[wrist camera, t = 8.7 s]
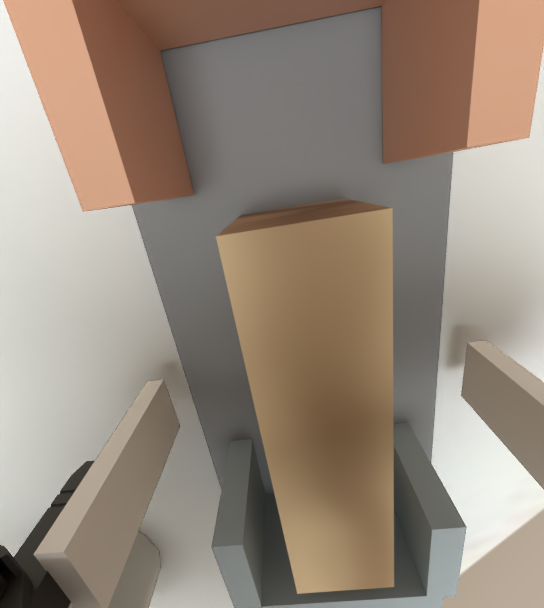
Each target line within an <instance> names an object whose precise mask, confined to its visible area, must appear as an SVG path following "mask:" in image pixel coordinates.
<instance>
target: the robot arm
mask: <svg viewBox="0 0 544 608" xmlns="http://www.w3.org/2000/svg"><path fill="white" fill-rule="evenodd" d="M461 396H462V397H463V398H464V399H465V400H466V401H467V403H468V404H469V405H470V406H471V407H472V408H473V409H474V411H475V412H476V413H477V414H478V415H479V416H480V417H481V419H482V420H483V421H484V422H485V423H486V424H487V425H488V427H489V428H490V429H491V430H492V431H493V432H494V433H495V434H496V436H497V437H498V438H499V439H500V440H501V441H502V442H503V444H504V445H505V446H506V447H507V448H508V449H509V450H510V452H511V453H512V454H513V455H514V456H515V457H516V458H517V460H518V461H519V462H520V463H521V464H522V465H523V466H524V468H525V469H526V470H527V471H528V472H529V473H530V474H531V475H532V477H533V478H534V479H535V480H536V481H537V482H538V483H539V485H540V486H541V487H542V488H543V489H544V382H542V381H541V380H540V379H538V378H537V377H536V376H534V375H533V374H532V373H530V372H529V371H527V370H526V369H525V368H523V367H522V366H521V365H519V364H518V363H517V362H515V361H514V360H513V359H511V358H510V357H509V356H507V355H506V354H505V353H503V352H502V351H500V350H499V349H498V348H496V347H495V346H494V345H492V344H491V343H490V342H488V341H487V340H483V341H475V342H467V349H466V358H465V367H464V376H463V385H462V394H461ZM179 428H180V424H179V422H178V419H177V416H176V413H175V410H174V407H173V404H172V402H171V399H170V396H169V393H168V390H167V387H166V385H165V382H164V379H162V380H153V381H147V382H146V384H145V385H144V387H143V388H142V390H141V391H140V393H139V394H138V396H137V398H136V399H135V401H134V402H133V404H132V405H131V407H130V408H129V410H128V411H127V413H126V414H125V416H124V417H123V419H122V420H121V422H120V423H119V425H118V426H117V428H116V429H115V431H114V433H113V434H112V436H111V437H110V439H109V440H108V442H107V443H106V445H105V446H104V448H103V449H102V451H101V452H100V454H99V455H98V457H97V458H96V460H95V461H87V462H85V463H84V464H83V465H82V466H81V467H80V468H79V469H78V470H77V471H76V472H75V473H74V474H73V475H71V477H70V478H69V480H68V481H67V482H66V484H65V485H64V487H63V488H62V490H61V491H60V494H58V495H57V497H56V498H55V500H54V501H53V502H52V504H51V507H50V508H48V509H47V511H46V512H45V514H44V515H43V517H42V518H41V519H40V521H39V522H38V524H37V525H36V526H35V528H34V529H33V531H32V532H31V534H30V535H29V536H28V538H27V539H26V541H25V542H24V544H23V545H22V546H21V548H20V549H19V551H18V552H17V553H16V555H15V556H14V558H13V556H12V555H11V554H10V553H9V551H8V550H7V549H6V548H5V547H4V546H1V545H0V608H68V607H69V605H70V603H71V605H72V606H73V607H74V608H108V606H109V604H110V601H111V599H112V596H113V594H114V591H115V589H116V586H117V584H118V581H119V579H120V576H121V574H122V571H123V568H124V566H125V563H126V561H127V558H128V556H129V553H130V551H131V548H132V546H133V543H134V541H135V538H136V536H137V533H138V531H139V528H140V526H141V523H142V521H143V518H144V516H145V513H146V511H147V508H148V506H149V503H150V501H151V498H152V496H153V493H154V491H155V488H156V486H157V483H158V481H159V478H160V476H161V473H162V471H163V468H164V466H165V463H166V461H167V458H168V455H169V453H170V450H171V448H172V445H173V443H174V440H175V438H176V435H177V433H178V430H179Z"/></svg>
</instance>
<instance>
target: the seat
mask: <svg viewBox="0 0 544 608" xmlns="http://www.w3.org/2000/svg"><path fill="white" fill-rule="evenodd" d="M160 52H161V57H162V61H163V65H164V69H165V73H166V78H167V82H168V86H169V90H170V95H171V99H172V103H173V107H174V112H175V116H176V120H177V124H178V128H179V133H180V137H181V141H182V145H183V150H184V154H185V158H186V162H187V166H188V171H189V175H190V179H191V183H192V188H193V192H194V195H193V196H187V197H181V198H175V199H169V200H163V201H156V202H149V203H141V204H134V205H132V207H133V210H134V213H135V216H136V220H137V223H138V226H139V229H140V232H141V235H142V239H143V242H144V245H145V248H146V251H147V254H148V258H149V261H150V264H151V267H152V270H153V274H154V277H155V280H156V283H157V286H158V289H159V293H160V296H161V299H162V302H163V305H164V308H165V312H166V315H167V318H168V321H169V324H170V327H171V331H172V334H173V337H174V340H175V343H176V346H177V350H178V353H179V356H180V359H181V362H182V365H183V369H184V372H185V375H186V378H187V381H188V384H189V388H190V391H191V394H192V397H193V400H194V404H195V407H196V410H197V413H198V416H199V419H200V423H201V426H202V429H203V432H204V435H205V438H206V442H207V445H208V448H209V451H210V454H211V457H212V461H213V464H214V467H215V470H216V473H217V476H218V480H219V483H220V486H221V489H222V492H221V497H220V503H219V508H218V514H217V520H216V525H215V531H214V537H213V542H212V550H213V552H214V555H215V558H216V560H217V563H218V566H219V568H220V571H221V574H222V576H223V579H224V582H225V584H226V587H227V590H228V592H229V595H230V598H231V600H232V603H233V606H234V608H442V607H443V599H444V598H445V597H456V593H457V587H458V580H459V573H460V567H461V560H462V554H463V547H464V540H465V534H466V525H465V524H464V522H463V520H462V518H461V516H460V515H459V513H458V511H457V509H456V507H455V506H454V504H453V502H452V500H451V498H450V497H449V495H448V493H447V491H446V489H445V488H444V486H443V484H442V482H441V480H440V479H439V477H438V475H437V473H436V471H435V470H434V468H433V466H432V464H431V457H432V443H433V429H434V414H435V400H436V386H437V372H438V358H439V344H440V330H441V316H442V302H443V288H444V274H445V260H446V245H447V231H448V217H449V203H450V189H451V175H452V161H453V152H449V153H444V154H438V155H433V156H428V157H422V158H417V159H411V160H405V161H399V162H393V163H387V164H383V109H382V6H378V7H374V8H369V9H364V10H359V11H354V12H349V13H344V14H339V15H334V16H329V17H324V18H319V19H314V20H309V21H304V22H299V23H294V24H290V25H285V26H280V27H275V28H270V29H265V30H260V31H255V32H250V33H245V34H240V35H235V36H230V37H225V38H220V39H215V40H210V41H206V42H201V43H196V44H191V45H186V46H181V47H176V48H171V49H166V50H161V51H160ZM342 198H345V199H350V200H355V201H360V202H365V203H370V204H375V205H380V206H385V207H390V208H393V437H394V587H388V588H373V589H359V590H345V591H330V592H316V593H302V594H297V591H296V586H295V582H294V577H293V573H292V569H291V564H290V560H289V555H288V551H287V547H286V542H285V538H284V533H283V529H282V525H281V520H280V516H279V512H278V507H277V503H276V498H275V494H274V490H273V485H272V481H271V476H270V472H269V468H268V463H267V459H266V454H265V450H264V446H263V441H262V437H261V433H260V428H259V424H258V419H257V415H256V411H255V406H254V402H253V397H252V393H251V389H250V384H249V380H248V376H247V371H246V367H245V362H244V358H243V354H242V349H241V345H240V340H239V336H238V332H237V327H236V323H235V318H234V314H233V310H232V305H231V301H230V297H229V292H228V288H227V283H226V279H225V275H224V270H223V266H222V261H221V257H220V253H219V248H218V244H217V240H216V236H217V235H218V234H219V233H220V232H222V231H223V230H224V229H225V228H226V227H227V226H229V225H230V224H231V223H232V222H233V221H234V220H236V219H237V218H238V217H239V216H240V215H246V214H252V213H258V212H264V211H270V210H276V209H282V208H288V207H294V206H300V205H306V204H312V203H318V202H324V201H330V200H336V199H342Z"/></svg>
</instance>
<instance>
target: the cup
mask: <svg viewBox="0 0 544 608" xmlns="http://www.w3.org/2000/svg"><path fill="white" fill-rule="evenodd" d="M160 569H161V563H160V554H159V550H158V549H157V548H156V547H155V546H154V544H153V543H152V542H151V541H150V540H149V539H148V538H147V536H146V535H144V534H142V533H141V532H139V531H138V533H137V536H136V538H135V541H134V543H133V546H132V548H131V551H130V553H129V556H128V558H127V561H126V563H125V566H124V568H123V571H122V574H121V576H120V579H119V581H118V584H117V586H116V589H115V591H114V594H113V596H112V599H111V601H110V604H109V606H108V608H149V605H150V602H151V598H152V595H153V592H154V588H155V585H156V582H157V578H158V575H159V572H160ZM68 608H74V607H73V606H72V605H71V603H70V605H69V607H68Z"/></svg>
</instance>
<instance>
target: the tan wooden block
mask: <svg viewBox="0 0 544 608" xmlns="http://www.w3.org/2000/svg"><path fill="white" fill-rule="evenodd" d="M216 240H217V244H218V248H219V253H220V257H221V261H222V266H223V270H224V275H225V279H226V283H227V288H228V292H229V297H230V301H231V305H232V310H233V314H234V318H235V323H236V327H237V332H238V336H239V340H240V345H241V349H242V354H243V358H244V362H245V367H246V371H247V376H248V380H249V384H250V389H251V393H252V397H253V402H254V406H255V411H256V415H257V419H258V424H259V428H260V433H261V437H262V441H263V446H264V450H265V454H266V459H267V463H268V468H269V472H270V476H271V481H272V485H273V490H274V494H275V498H276V503H277V507H278V512H279V516H280V520H281V525H282V529H283V533H284V538H285V542H286V547H287V551H288V555H289V560H290V564H291V569H292V573H293V577H294V582H295V586H296V591H297V594H302V593H316V592H330V591H345V590H359V589H373V588H388V587H394V437H393V208H390V207H385V206H380V205H375V204H370V203H365V202H360V201H355V200H350V199H345V198H342V199H336V200H330V201H324V202H318V203H312V204H306V205H300V206H294V207H288V208H282V209H276V210H270V211H264V212H258V213H252V214H246V215H240V216H239V217H238V218H237V219H236V220H234V221H233V222H232V223H231V224H230V225H229V226H227V227H226V228H225V229H224V230H223V231H222V232H220V233H219V234H218V235H217V236H216Z"/></svg>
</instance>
